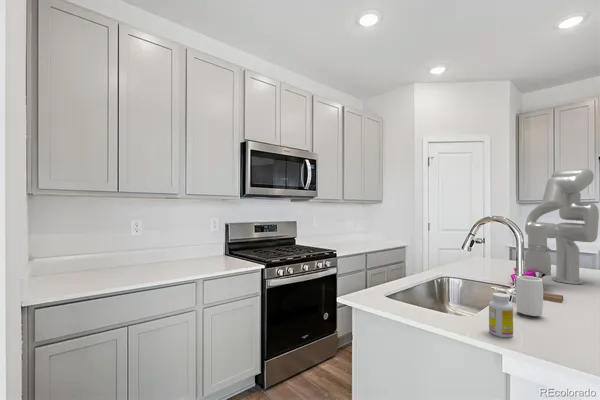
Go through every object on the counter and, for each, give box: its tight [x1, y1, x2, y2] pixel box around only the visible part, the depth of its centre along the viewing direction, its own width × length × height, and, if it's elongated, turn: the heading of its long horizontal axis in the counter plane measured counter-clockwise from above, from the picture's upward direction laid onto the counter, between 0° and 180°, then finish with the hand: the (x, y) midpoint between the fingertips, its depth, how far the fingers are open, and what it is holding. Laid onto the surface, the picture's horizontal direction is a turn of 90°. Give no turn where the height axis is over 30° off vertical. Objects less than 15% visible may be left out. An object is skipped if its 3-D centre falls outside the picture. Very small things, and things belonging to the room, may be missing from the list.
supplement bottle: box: [488, 292, 514, 339], centre depth 103 cm, size 7×7×13 cm
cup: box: [515, 276, 544, 317], centre depth 120 cm, size 8×8×14 cm
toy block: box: [510, 267, 534, 283], centre depth 159 cm, size 15×6×8 cm, turn 162°
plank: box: [543, 291, 564, 304], centre depth 144 cm, size 7×18×2 cm, turn 44°
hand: (537, 285), depth 156 cm, fingers closed
